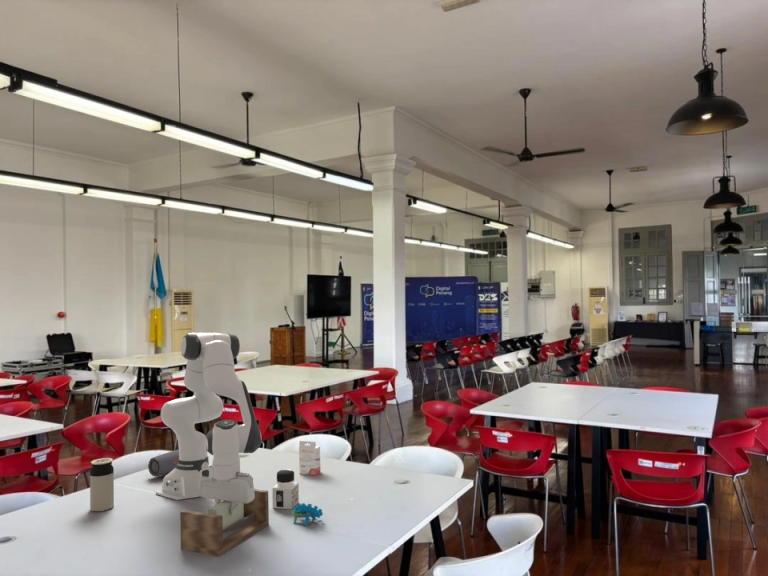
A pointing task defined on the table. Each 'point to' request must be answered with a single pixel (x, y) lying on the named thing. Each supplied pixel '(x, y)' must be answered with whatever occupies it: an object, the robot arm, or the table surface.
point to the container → (285, 490)
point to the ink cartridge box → (309, 458)
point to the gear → (306, 512)
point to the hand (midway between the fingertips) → (226, 513)
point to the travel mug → (101, 485)
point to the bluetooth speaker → (163, 463)
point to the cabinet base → (208, 528)
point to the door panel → (223, 511)
